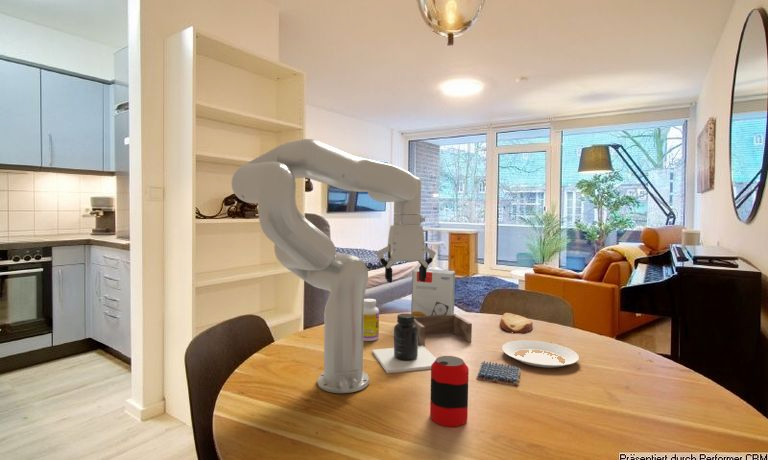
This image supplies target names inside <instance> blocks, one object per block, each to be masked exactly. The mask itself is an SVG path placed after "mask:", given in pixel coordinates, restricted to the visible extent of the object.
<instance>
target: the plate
mask: <svg viewBox="0 0 768 460" xmlns="http://www.w3.org/2000/svg"><path fill="white" fill-rule="evenodd" d="M501 349H502V352H504V354H506V355H507V356H509V357H511V358H513V359H515V360H517V362H520V363H522V364H524V365H525V364H526V365H528V366H533V367H538V368H539V367H540V368H547V369H549V368H559V367H564V366H568V365H573V364H575V363H577V362H578V361H579V359H580V356H579V354H578V353H577V352H575V351H574V350H572V349H571V348H569V347H566V346H564V345H563V346H562V345H560V344H557V343H553V342H549V341H548V342H547V341H542V340H536V339H535V340H534V339H533V340H532V339H531V340H530V339H529V340H528V339H520V340H519V339H518V340H512V341H507V342H505V343H504V344H503V345H502V346H501ZM519 350H529V353H528V352H527V353H525V354H526V355H524V357H522V356H520V355H517V356H515V355H514V354H515V352H517V351H519ZM532 350H540V351H543V352H542V353H535V352H533V353H531V352H532ZM544 351H546V352H550V353H552V354H556V355H558V356H561V357H562V358H563V359H565V363H564V364H563V363H561V362H559V360H558V359H557V357H558V356H555V355H552V356H550V354H549V355H547V354H548V353H544ZM543 353H544V354H543ZM552 357H553V359H552ZM555 357H556V358H555Z"/></svg>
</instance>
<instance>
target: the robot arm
mask: <svg viewBox="0 0 768 460" xmlns="http://www.w3.org/2000/svg"><path fill="white" fill-rule="evenodd" d="M296 179H310V180H313V181H315V182H319V183H322V184H326V185H328V186H332V187H334V188H337V189H340V190H344V191H349V192H358V193H359V192H360V193H365V192H366V193H367V194H368V197H370V199H372V200H374V201H376V202H380V203H393V225H390V227H389V232H388V239H387V245H386V246H385V247H383V248H380V249H379V250H378V251H376V252H375V254H376V257H377V258H378V260H379V262H380V263H381V265H383V267H384V268H385V270H384V275H385V276H384V277H385V278H384V279H385V280H386V281H387V283H393V268H392V266H393V265H394V263H395V262H418V263H419V265H420V266H419V267H418V268H419V280H420V281H422V282H425V278H426V271H427V269H428V267H429V265H431V263H432V262H433V259H434V258H435V256H436V253H437V252H436V251H434V250H433V249H432V248H429V247H427V246H426V243H425V240H426V239H425V233H424V227H423V225H421V224H422V222H424V223H425V222H426V217H425V216H422V213H421V208H422V207H421V205H422V180H421V178H419V176H414V174H412V173H411V172H410V171H408V170H405V169H403V168H401V167H398V166H396V165H394V164H393V165H392V164H389V163H385V162H382V161H378V160H377V161H376V160H372V159H369V158H364V157H361V156H355V155H352V154H351V153H348V152H346V151H343V150H341V149H338V148H336V147H335V146H334V147H333V146H331V145H329V144H326V143H323V142H321V141H318V140H316V139H312V138H304V139H303V138H302V139H299V140H293V141H288V142H284V143H283V144H280V145H278V146H276V147H274V148H272V149H271V150H269V151H267V152H265V153H263V154H261V155H259V156H258V157H256V158H254V159H252V160H250V161H248V162H246V163H244V164H243V165H241V166H239V167H238V168H237V169H236V170H235V172H234V174H233V175H232V177H231V189H232V192H233V193H234V195H235V197H237V198H238V199H239V200H240V201H243V202H245V203H248V204H257V211H258V212H257V213H258V220H259V224H260V228H261V230H262V232H263V234H264V236H266V237H267V238H268V239H269V240H270V242H272V243H273V244H274V245H273V246H274V247H273V248H274V254H275V257H276V259H277V260H278V262H279V263H280V264H281V265H282V266H283V267H284V268H285V269H287V270H289V271H290V272H291V273H293V274H294V275H296V276H297V277H298V278H300V279H301V280H303V281H304V282H306V283H307V284H308V285H311V286H312V287H314V288H317V289H320V290H324V291H328V292H330V293H329V296H328V298H327V300H326V303H325V307H324V311H323V312H324V315H323V322H324V324H323V325H324V328H323V329H324V331H323V335H324V337H323V338H324V339H323V340H324V342H323V344H324V345H323V362H324V363H323V372H322V373H321V374H320V375H319V376H318V377H317V386H318V387H319V388H320V389H321V390H323V391H326V392H328V393H333V394H349V393H350V394H351V393H354V392H358V391H361V390H363V389H365V388H366V387H367V386H368V385H369V384H370V376H369V375H368V373H367V372H365V371H364V341H363V312H364V299H365V297H366V289H367V286H368V285H367V284H368V280H369V270H368V267H367V265H366V263H365V262H364V261H363V260H362V259H361V258H359V257H358V256H355V255H352V254H347V253H342V252H341V253H340V252H337V250H336V246H335V244H334V242H333V241H332V239H331V238H330V236H328V235H327V234H326V233H324V231H322V230H321V229H319V228H318V227H317V226H316V225H314V223H312V222H311V221H310V220H309V219H307V218H306V217H305V215H303V214H302V213H301V212H300V210H299V209H298V205H297V201H296V192H297V191H296V190H297V186H296V185H297V183H296ZM426 253H428V256H427V257H426V259H425V256H426ZM385 254H386V257H387V259H385V258H384V255H385Z"/></svg>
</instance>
